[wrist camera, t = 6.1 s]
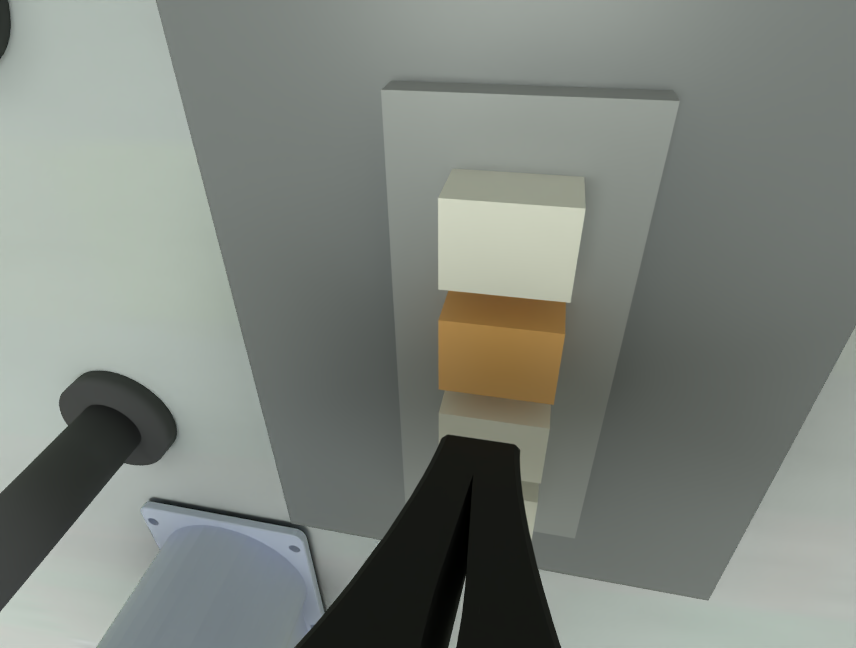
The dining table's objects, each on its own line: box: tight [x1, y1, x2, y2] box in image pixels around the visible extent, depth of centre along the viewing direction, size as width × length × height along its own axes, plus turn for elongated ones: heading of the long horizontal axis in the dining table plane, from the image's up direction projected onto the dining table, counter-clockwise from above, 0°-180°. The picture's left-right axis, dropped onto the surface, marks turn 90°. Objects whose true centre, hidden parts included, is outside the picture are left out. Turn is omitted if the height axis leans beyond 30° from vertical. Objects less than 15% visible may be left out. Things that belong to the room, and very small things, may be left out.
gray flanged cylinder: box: [0, 371, 177, 611], centre depth 19 cm, size 4×4×8 cm
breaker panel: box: [156, 0, 856, 600], centre depth 14 cm, size 18×14×5 cm
